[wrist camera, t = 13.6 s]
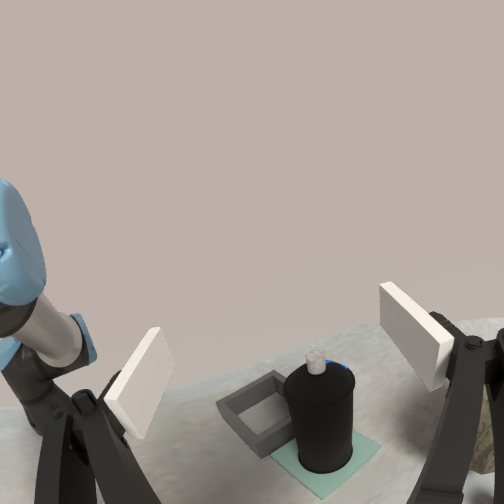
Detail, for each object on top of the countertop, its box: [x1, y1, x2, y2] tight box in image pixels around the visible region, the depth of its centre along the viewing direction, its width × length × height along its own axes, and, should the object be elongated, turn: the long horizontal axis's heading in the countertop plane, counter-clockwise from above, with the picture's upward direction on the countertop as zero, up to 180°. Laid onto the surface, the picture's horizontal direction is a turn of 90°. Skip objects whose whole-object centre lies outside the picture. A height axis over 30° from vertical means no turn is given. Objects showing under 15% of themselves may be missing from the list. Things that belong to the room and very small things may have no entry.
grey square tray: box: [216, 370, 295, 459], centre depth 41 cm, size 13×13×4 cm
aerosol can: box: [283, 350, 355, 474], centre depth 29 cm, size 8×8×20 cm
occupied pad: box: [270, 429, 382, 500], centre depth 31 cm, size 12×12×1 cm
